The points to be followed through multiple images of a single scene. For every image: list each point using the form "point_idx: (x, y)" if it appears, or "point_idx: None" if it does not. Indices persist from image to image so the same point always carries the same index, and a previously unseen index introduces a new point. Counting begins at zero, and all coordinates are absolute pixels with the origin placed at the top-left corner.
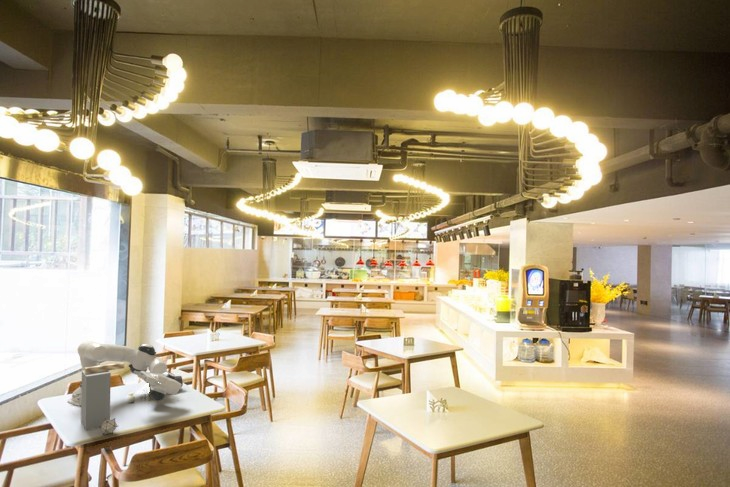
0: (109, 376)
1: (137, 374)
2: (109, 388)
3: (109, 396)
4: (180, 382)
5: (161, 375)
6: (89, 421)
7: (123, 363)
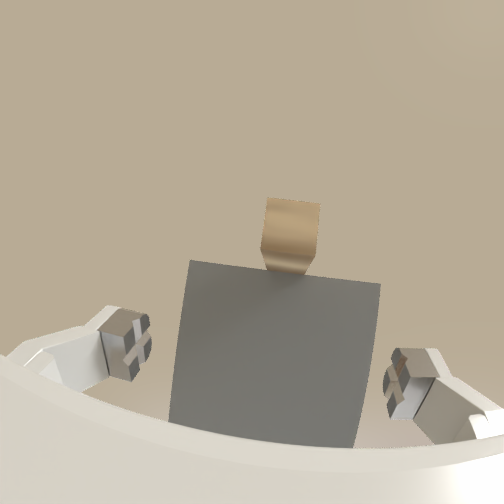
0: (188, 284)
1: (436, 439)
2: (176, 363)
3: (170, 411)
4: None
5: None
6: None
7: (268, 202)
